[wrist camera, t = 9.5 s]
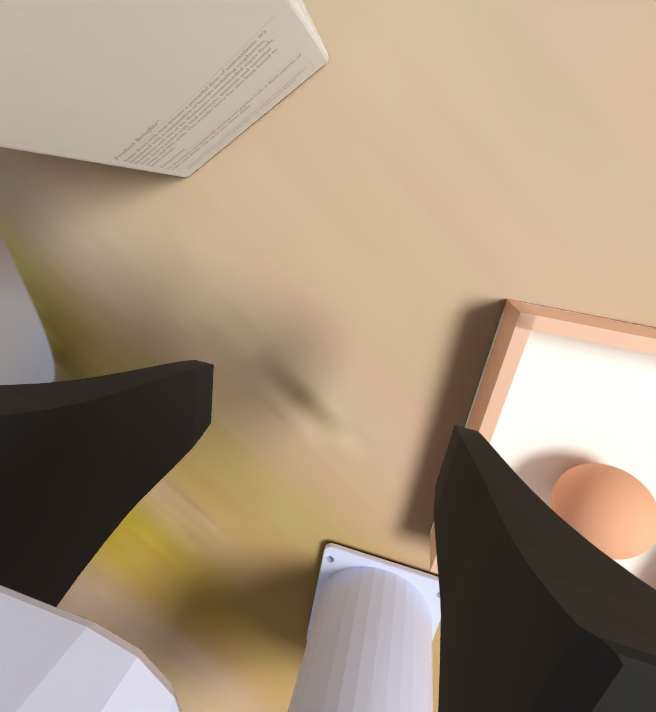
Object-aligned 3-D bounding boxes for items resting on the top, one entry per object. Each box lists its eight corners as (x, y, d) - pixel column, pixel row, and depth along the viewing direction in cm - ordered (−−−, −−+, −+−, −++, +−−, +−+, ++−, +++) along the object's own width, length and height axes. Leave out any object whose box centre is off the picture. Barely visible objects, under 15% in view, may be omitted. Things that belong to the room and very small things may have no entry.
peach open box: (657, 600, 21) (689, 653, 18) (430, 532, 23) (430, 571, 20) (819, 358, 16) (897, 386, 13) (506, 299, 18) (520, 312, 15)
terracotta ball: (609, 523, 20) (656, 593, 16) (528, 502, 20) (554, 565, 16) (644, 458, 18) (704, 518, 14) (556, 437, 19) (592, 490, 15)
